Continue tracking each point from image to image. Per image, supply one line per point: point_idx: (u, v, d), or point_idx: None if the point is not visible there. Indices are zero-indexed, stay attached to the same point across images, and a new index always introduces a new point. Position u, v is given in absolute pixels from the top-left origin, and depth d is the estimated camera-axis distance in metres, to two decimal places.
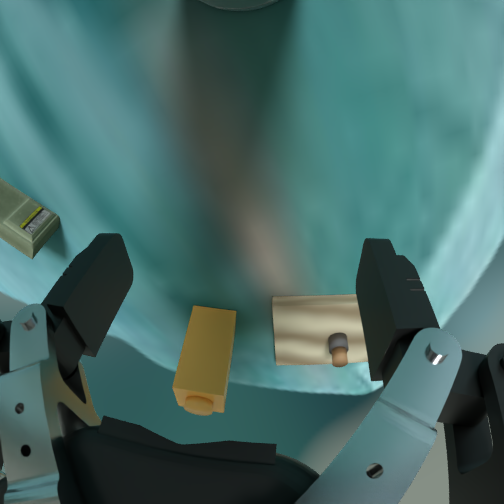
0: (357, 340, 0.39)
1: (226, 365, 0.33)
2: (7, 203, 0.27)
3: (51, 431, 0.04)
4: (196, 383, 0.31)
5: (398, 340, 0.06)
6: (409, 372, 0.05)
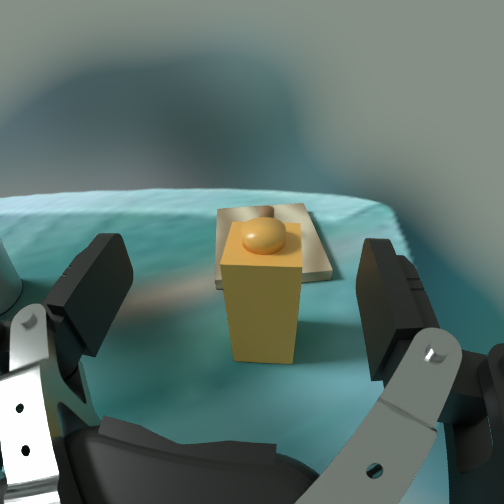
0: None
1: None
2: None
3: (51, 431, 0.04)
4: None
5: (398, 340, 0.06)
6: (409, 372, 0.05)
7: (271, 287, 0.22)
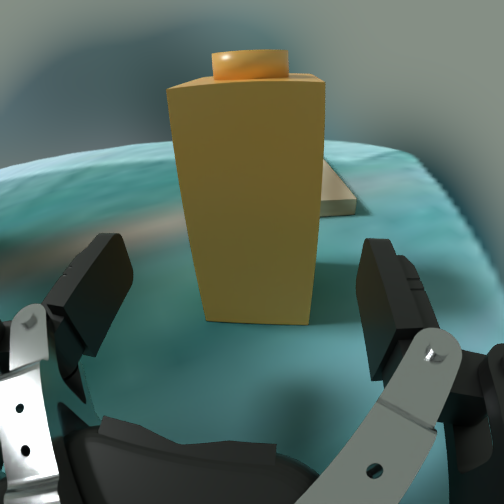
0: None
1: None
2: None
3: (51, 431, 0.04)
4: None
5: (398, 340, 0.06)
6: (409, 372, 0.05)
7: (266, 133, 0.10)
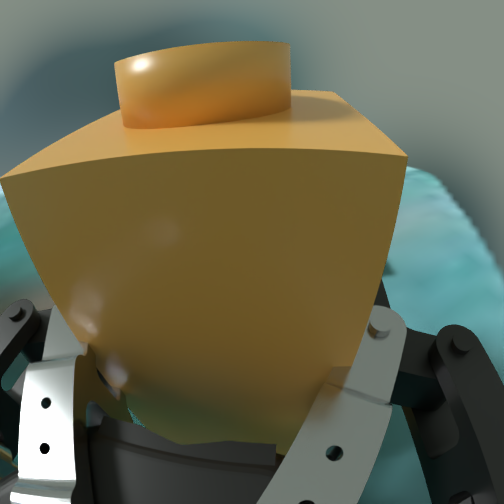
0: None
1: None
2: None
3: (76, 434, 0.04)
4: None
5: None
6: None
7: (226, 290, 0.04)
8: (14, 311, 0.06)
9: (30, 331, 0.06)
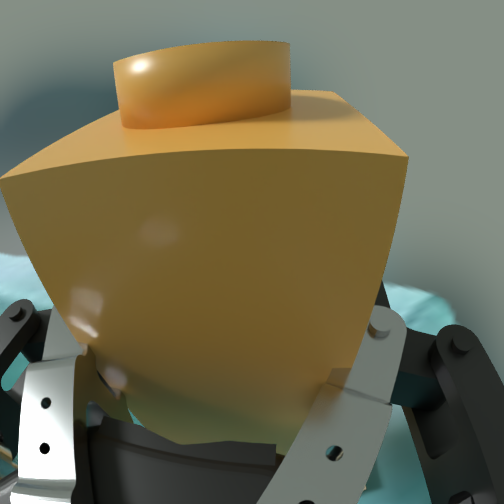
0: None
1: None
2: None
3: (76, 434, 0.04)
4: None
5: None
6: None
7: (225, 291, 0.04)
8: (14, 311, 0.06)
9: (30, 331, 0.06)
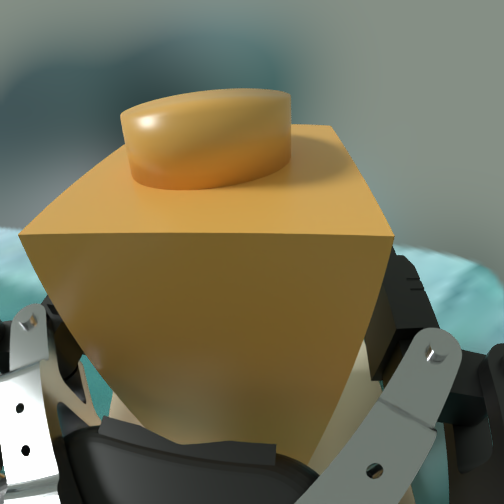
0: None
1: None
2: None
3: (51, 431, 0.04)
4: None
5: (398, 340, 0.06)
6: (409, 372, 0.05)
7: (234, 337, 0.05)
8: None
9: None
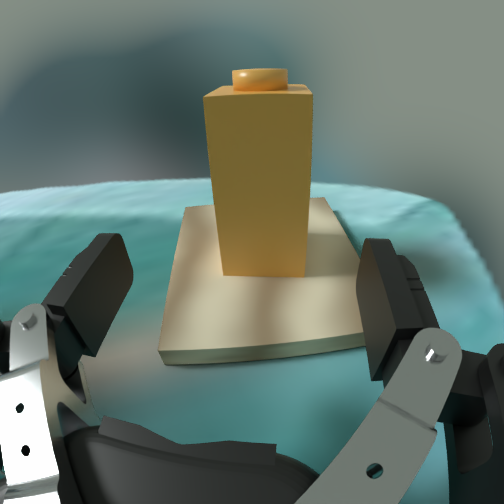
0: None
1: None
2: None
3: (51, 431, 0.04)
4: None
5: (398, 340, 0.06)
6: (409, 372, 0.05)
7: (272, 129, 0.15)
8: None
9: None
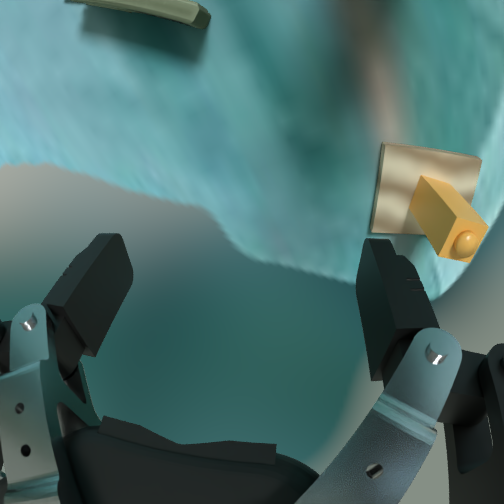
0: None
1: (474, 210, 0.31)
2: None
3: (51, 431, 0.04)
4: (468, 217, 0.29)
5: (398, 340, 0.06)
6: (409, 372, 0.05)
7: (439, 233, 0.32)
8: None
9: None
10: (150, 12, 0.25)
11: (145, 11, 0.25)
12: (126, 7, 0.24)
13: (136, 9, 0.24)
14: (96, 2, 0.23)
